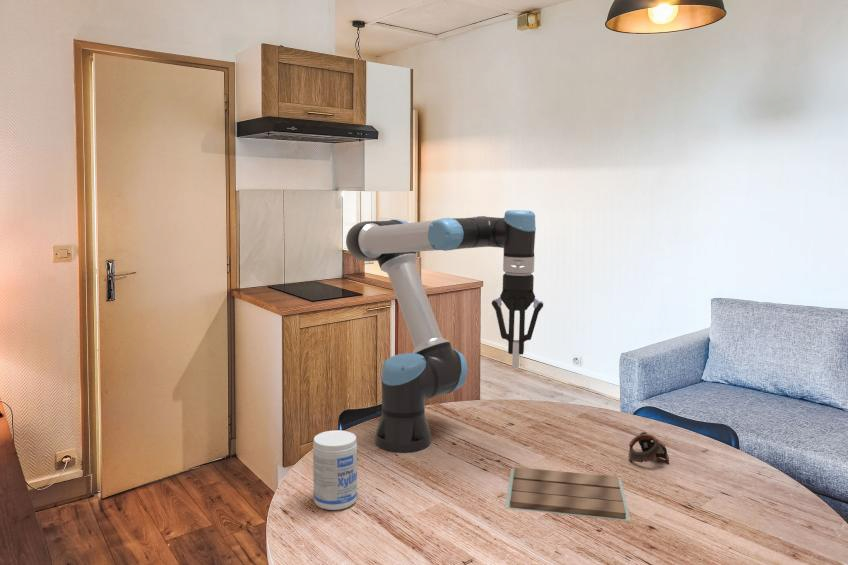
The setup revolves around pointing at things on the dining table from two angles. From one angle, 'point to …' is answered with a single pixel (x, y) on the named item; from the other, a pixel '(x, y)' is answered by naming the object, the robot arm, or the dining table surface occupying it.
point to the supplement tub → (335, 469)
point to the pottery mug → (647, 449)
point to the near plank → (567, 490)
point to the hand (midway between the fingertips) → (515, 366)
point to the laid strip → (568, 504)
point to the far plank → (566, 478)
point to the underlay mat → (566, 512)
